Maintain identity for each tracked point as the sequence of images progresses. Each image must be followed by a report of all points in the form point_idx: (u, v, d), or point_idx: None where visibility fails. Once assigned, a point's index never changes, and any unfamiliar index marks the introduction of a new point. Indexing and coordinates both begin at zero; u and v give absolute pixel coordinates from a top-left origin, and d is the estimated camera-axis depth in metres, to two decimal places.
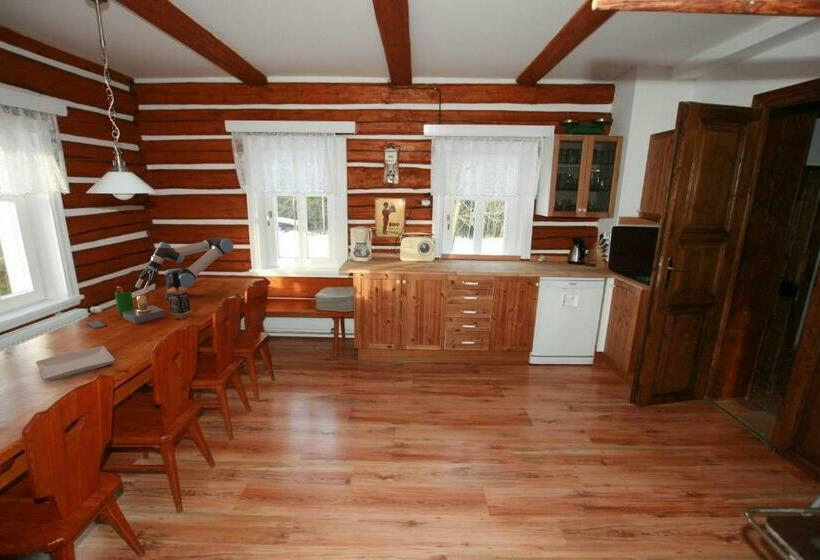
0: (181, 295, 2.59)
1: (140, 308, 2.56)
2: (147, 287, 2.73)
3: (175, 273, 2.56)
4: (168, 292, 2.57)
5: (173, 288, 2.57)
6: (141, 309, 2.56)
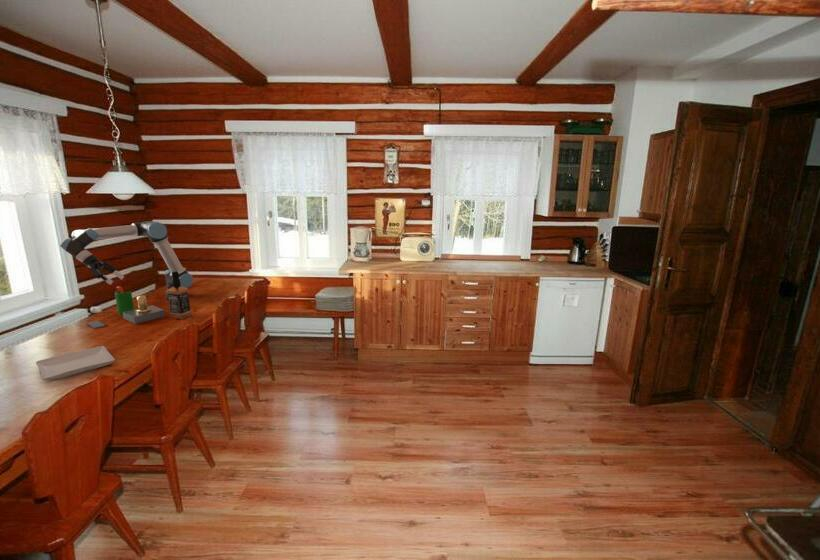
0: (181, 295, 2.59)
1: (140, 308, 2.56)
2: (108, 280, 2.45)
3: (175, 273, 2.56)
4: (168, 292, 2.57)
5: (173, 288, 2.57)
6: (141, 309, 2.56)
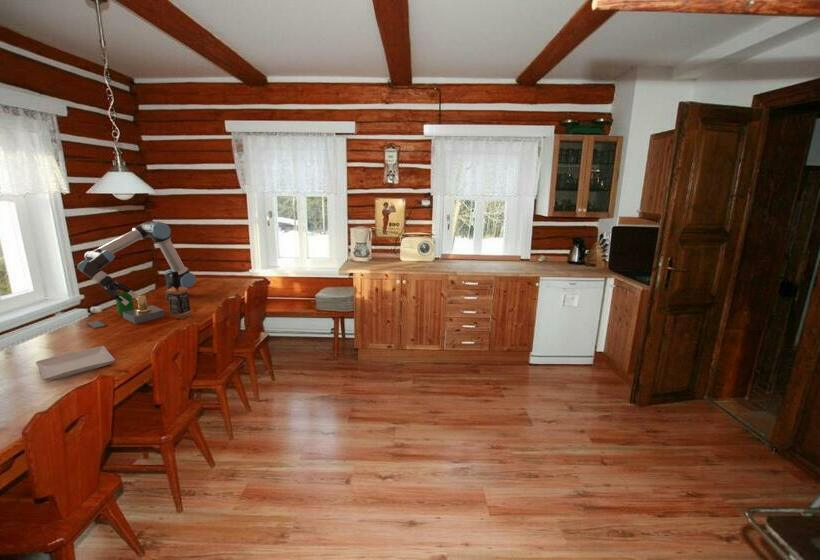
0: (181, 295, 2.59)
1: (140, 308, 2.56)
2: (124, 301, 2.48)
3: (175, 273, 2.56)
4: (168, 292, 2.57)
5: (173, 288, 2.57)
6: (141, 309, 2.56)
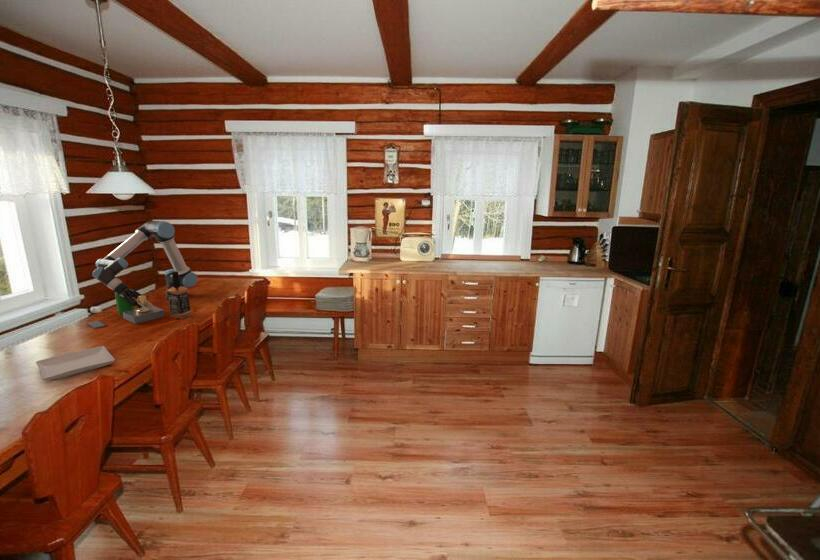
0: (181, 295, 2.59)
1: None
2: (143, 308, 2.54)
3: (175, 273, 2.56)
4: (168, 292, 2.57)
5: (173, 288, 2.57)
6: None
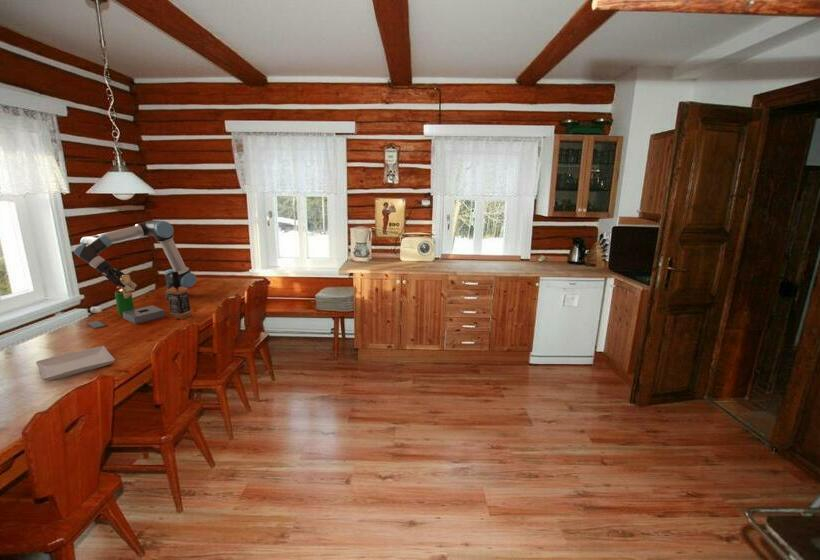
0: (181, 295, 2.59)
1: None
2: (126, 287, 2.48)
3: (175, 273, 2.56)
4: (168, 292, 2.57)
5: (173, 288, 2.57)
6: None
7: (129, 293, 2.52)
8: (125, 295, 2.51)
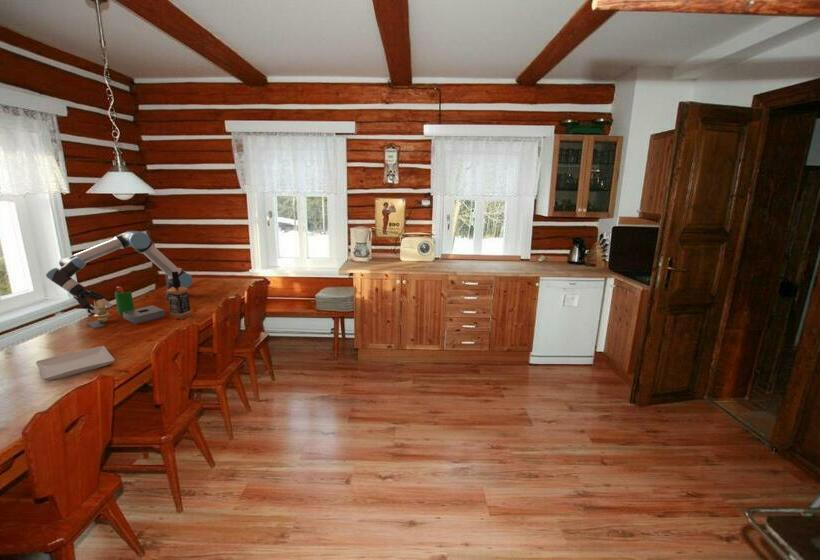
0: (181, 295, 2.59)
1: (98, 313, 2.48)
2: (95, 310, 2.43)
3: (175, 273, 2.56)
4: (168, 292, 2.57)
5: (173, 288, 2.57)
6: (99, 314, 2.48)
7: (104, 318, 2.50)
8: (100, 320, 2.50)
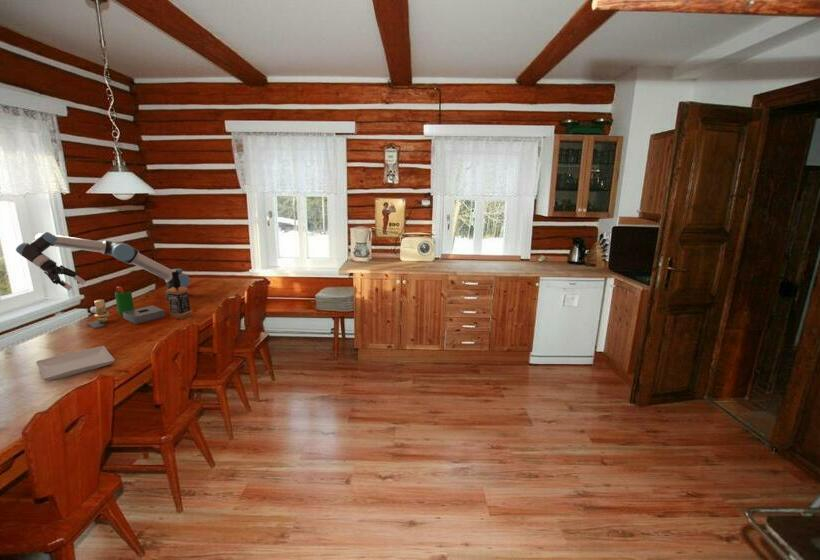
0: (181, 295, 2.59)
1: (98, 313, 2.48)
2: (67, 286, 2.37)
3: (175, 273, 2.56)
4: (168, 292, 2.57)
5: (173, 288, 2.57)
6: (99, 314, 2.48)
7: (104, 318, 2.50)
8: (100, 320, 2.50)
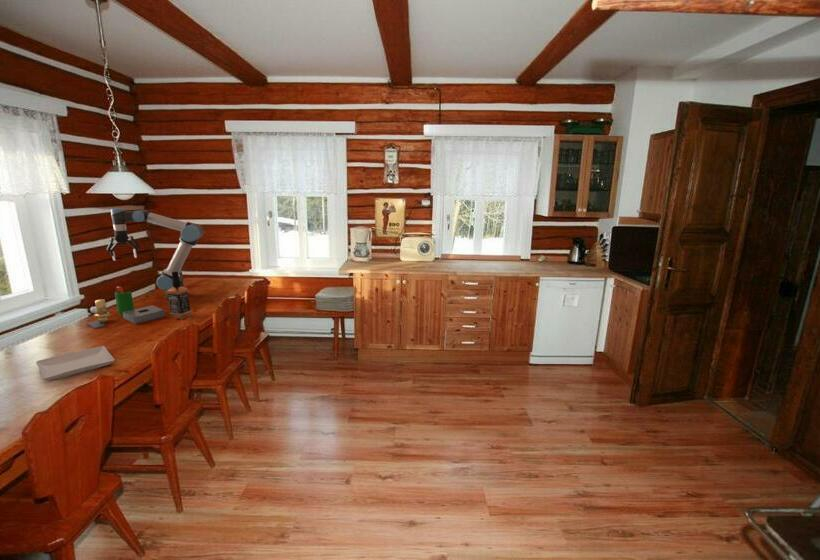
0: (181, 295, 2.59)
1: (98, 312, 2.48)
2: (113, 257, 2.78)
3: (175, 273, 2.56)
4: (168, 292, 2.57)
5: (173, 288, 2.57)
6: (99, 314, 2.48)
7: (104, 318, 2.50)
8: (100, 320, 2.50)
